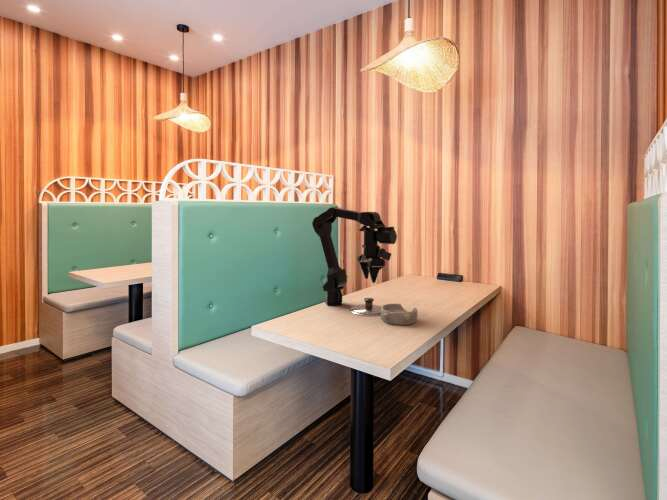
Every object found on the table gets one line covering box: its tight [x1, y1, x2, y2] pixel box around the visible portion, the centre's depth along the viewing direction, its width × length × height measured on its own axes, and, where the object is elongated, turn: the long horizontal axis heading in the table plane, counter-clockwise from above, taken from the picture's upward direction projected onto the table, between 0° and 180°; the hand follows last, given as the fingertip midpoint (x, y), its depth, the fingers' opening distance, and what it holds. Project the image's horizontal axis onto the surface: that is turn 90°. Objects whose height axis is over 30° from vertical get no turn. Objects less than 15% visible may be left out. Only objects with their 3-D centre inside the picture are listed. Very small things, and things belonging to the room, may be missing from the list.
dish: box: [380, 303, 418, 326], centre depth 141 cm, size 14×14×5 cm
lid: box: [349, 297, 383, 317], centre depth 154 cm, size 16×16×5 cm
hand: (370, 280), depth 154 cm, fingers open, 9 cm apart
